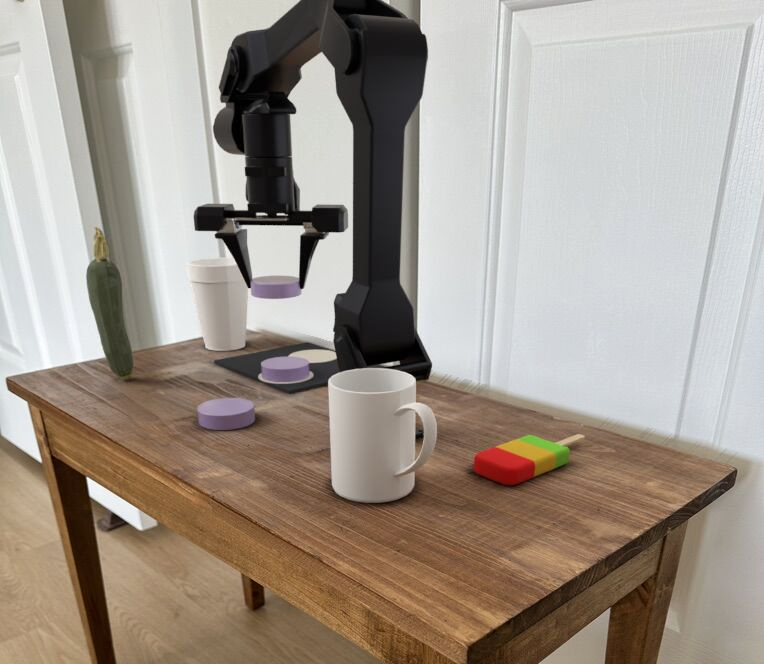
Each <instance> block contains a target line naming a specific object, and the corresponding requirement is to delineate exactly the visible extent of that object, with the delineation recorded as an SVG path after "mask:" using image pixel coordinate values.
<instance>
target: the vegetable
mask: <svg viewBox="0 0 764 664" xmlns="http://www.w3.org/2000/svg"><path fill="white" fill-rule="evenodd" d="M94 230H95V232H94V236H93V257H94V259H93V260H91V261H90V263H89V264H88V265H87V268H86V276H85V278H86V288H87V294H88V301H89V304H90V307H91V311H92V313H93V316H94V320H95V325H96V328H97V332H98V335H99V339H100V344H101V347H102V351H103V354H104V357H105V359H106V361H107V363H108V366H109V368H110V371H112V373H113V374H115V376H117V378H119V379H120V380H121V381H125V380H131V379H132V377H133V376H132V375H133V373H134V372H133V371H134V369H133V368H134V358H133V357H134V356H133V352H132V347H131V342H130V340H129V339H130V338H129V336H128V333H127V329H126V325H125V319H124V312H123V311H124V310H123V309H124V308H123V282H122V277H121V273H120V271H119V269H118V267H117V265H116V264H114V262H112V261H111V260H110V259H108V258H109V256H110V249H109V246H108V245H109V244H107V241H106V237H105V236H104V233H103V231H102V229H101V228H99V227H98V226H95V227H94Z"/></svg>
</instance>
